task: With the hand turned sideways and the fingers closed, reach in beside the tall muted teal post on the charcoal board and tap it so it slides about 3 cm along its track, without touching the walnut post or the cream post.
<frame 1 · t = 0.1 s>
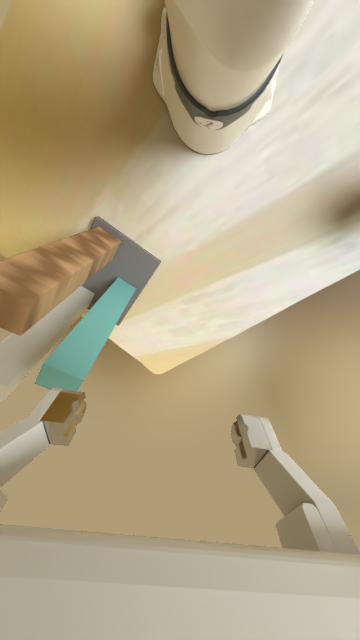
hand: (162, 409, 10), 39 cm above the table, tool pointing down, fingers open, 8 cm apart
cream post: (49, 326, 37), point 16 cm above the table, slide at 0.0 cm
teal post: (101, 320, 35), point 16 cm above the table, slide at 0.0 cm
board: (111, 278, 47), on the table
walnut post: (73, 263, 29), point 16 cm above the table, slide at 0.0 cm
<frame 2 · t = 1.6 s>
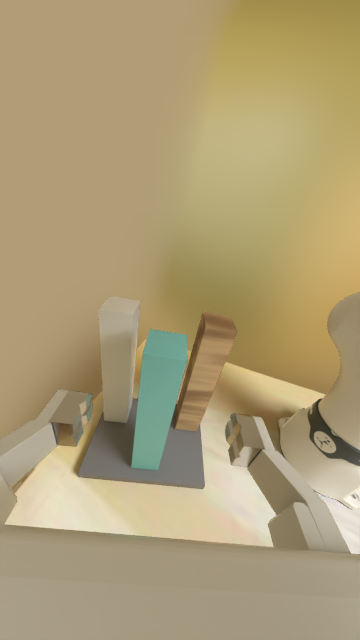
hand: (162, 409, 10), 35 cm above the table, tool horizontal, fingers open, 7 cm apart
cream post: (119, 368, 36), point 16 cm above the table, slide at 0.0 cm
teal post: (154, 411, 29), point 16 cm above the table, slide at 0.0 cm
board: (149, 437, 41), on the table
walnut post: (199, 379, 37), point 16 cm above the table, slide at 0.0 cm
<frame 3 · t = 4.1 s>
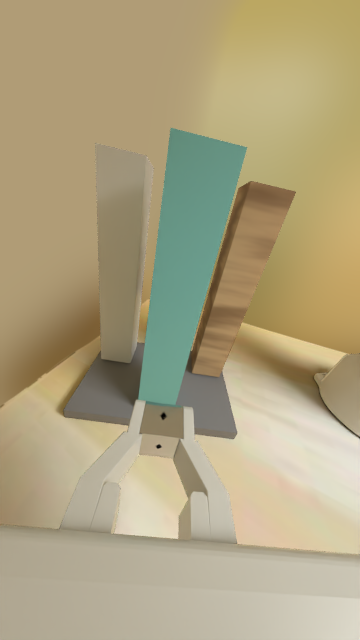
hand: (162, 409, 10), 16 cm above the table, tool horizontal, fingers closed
cream post: (123, 278, 27), point 16 cm above the table, slide at 0.0 cm
teal post: (173, 312, 20), point 16 cm above the table, slide at 0.0 cm
board: (159, 382, 32), on the table
walnut post: (227, 298, 28), point 16 cm above the table, slide at 0.0 cm
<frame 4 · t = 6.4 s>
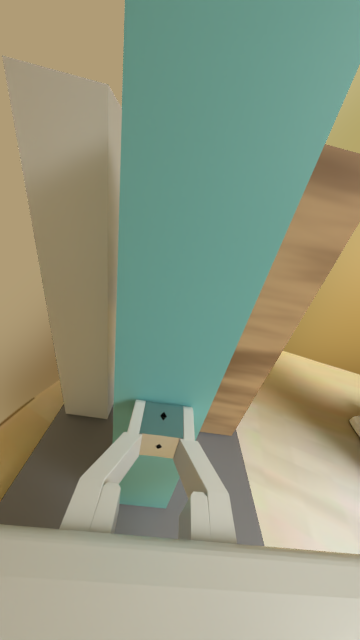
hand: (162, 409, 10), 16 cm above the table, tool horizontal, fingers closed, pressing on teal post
cream post: (91, 305, 18), point 16 cm above the table, slide at 0.0 cm
teal post: (165, 375, 12), point 16 cm above the table, slide at 0.6 cm, touching gripper
board: (147, 445, 22), on the table
walnut post: (247, 334, 19), point 16 cm above the table, slide at 0.0 cm
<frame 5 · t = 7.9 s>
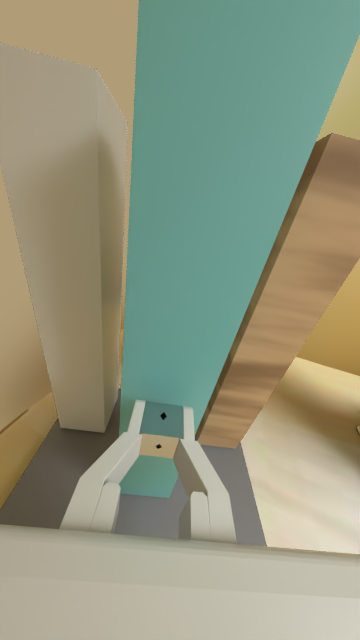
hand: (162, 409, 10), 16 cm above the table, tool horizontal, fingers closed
cream post: (85, 315, 16), point 16 cm above the table, slide at 0.0 cm
teal post: (167, 369, 13), point 16 cm above the table, slide at 2.9 cm
board: (147, 460, 21), on the table
walnut post: (252, 343, 18), point 16 cm above the table, slide at 0.0 cm
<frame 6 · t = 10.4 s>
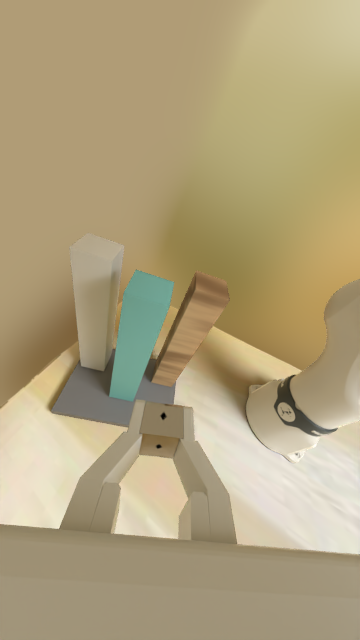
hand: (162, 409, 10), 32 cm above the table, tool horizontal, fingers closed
cream post: (98, 318, 33), point 16 cm above the table, slide at 0.0 cm
teal post: (134, 352, 31), point 16 cm above the table, slide at 2.9 cm
board: (125, 386, 42), on the table
walnut post: (181, 341, 36), point 16 cm above the table, slide at 0.0 cm
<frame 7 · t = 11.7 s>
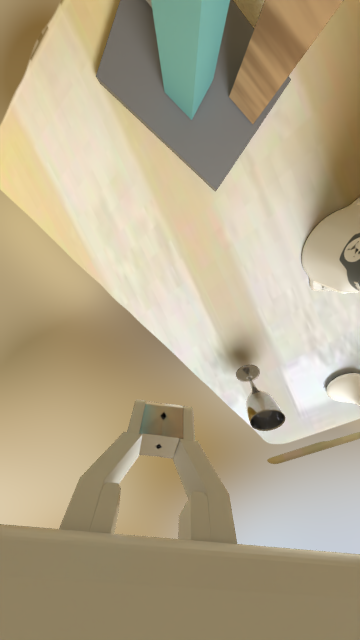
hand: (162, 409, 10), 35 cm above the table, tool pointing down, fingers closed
wine glass: (247, 373, 56), on the table
board: (192, 84, 27), on the table
flower in vase: (342, 380, 57), on the table
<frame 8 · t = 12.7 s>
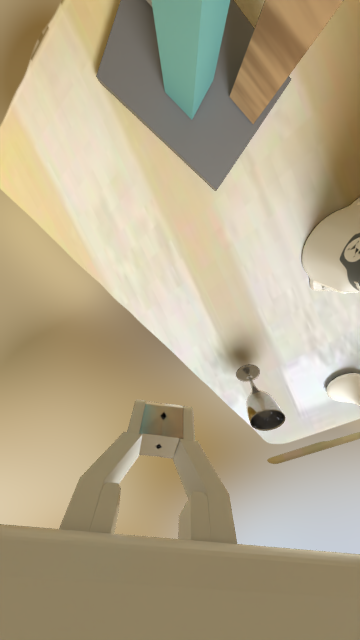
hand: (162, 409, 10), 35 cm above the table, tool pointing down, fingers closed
wine glass: (247, 373, 56), on the table
board: (193, 84, 27), on the table
flower in vase: (342, 380, 57), on the table
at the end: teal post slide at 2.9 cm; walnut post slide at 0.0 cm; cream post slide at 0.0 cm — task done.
